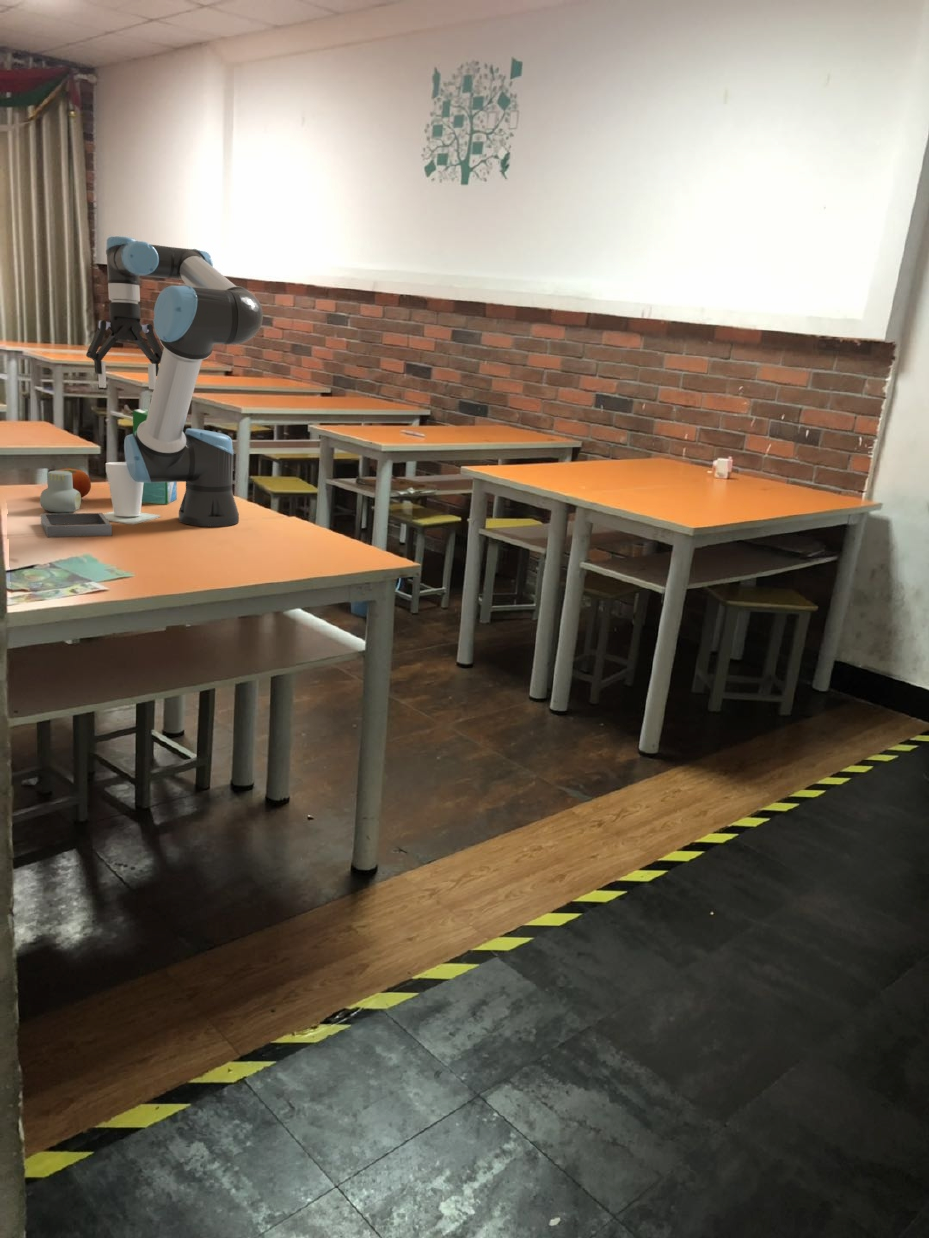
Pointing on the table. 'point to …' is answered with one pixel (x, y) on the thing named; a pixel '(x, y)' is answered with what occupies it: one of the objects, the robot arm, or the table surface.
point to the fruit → (80, 481)
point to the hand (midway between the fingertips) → (128, 388)
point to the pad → (130, 518)
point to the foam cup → (124, 490)
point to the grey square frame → (75, 530)
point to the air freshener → (60, 493)
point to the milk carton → (154, 491)
